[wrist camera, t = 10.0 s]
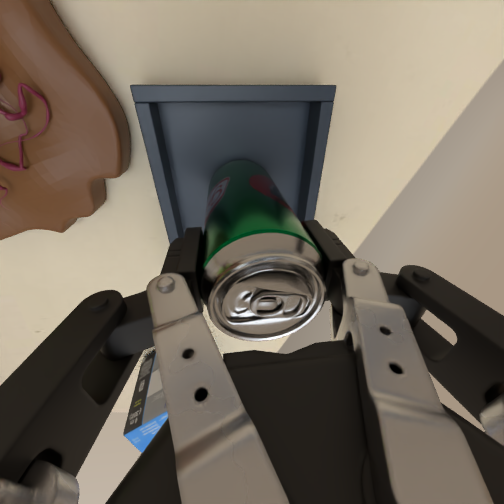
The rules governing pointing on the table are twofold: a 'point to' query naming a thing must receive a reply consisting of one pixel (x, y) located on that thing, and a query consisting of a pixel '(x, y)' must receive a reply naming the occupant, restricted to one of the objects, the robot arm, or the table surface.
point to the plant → (52, 124)
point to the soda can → (257, 258)
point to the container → (232, 141)
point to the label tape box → (146, 405)
